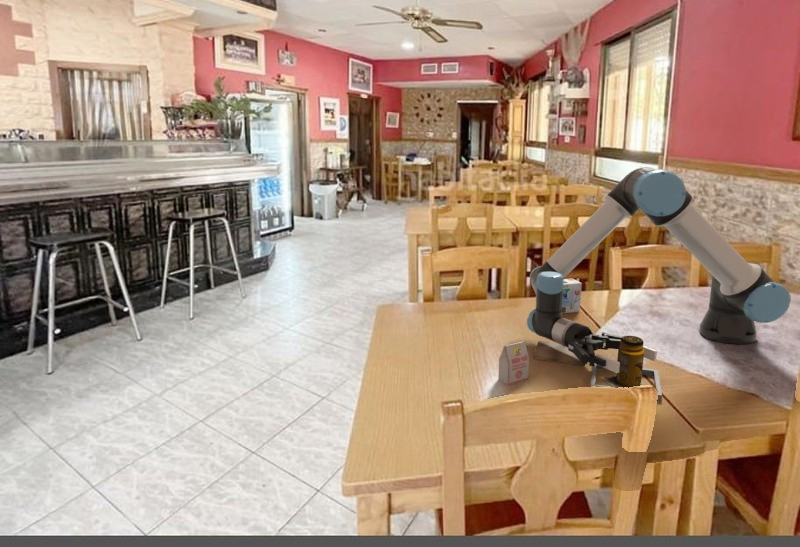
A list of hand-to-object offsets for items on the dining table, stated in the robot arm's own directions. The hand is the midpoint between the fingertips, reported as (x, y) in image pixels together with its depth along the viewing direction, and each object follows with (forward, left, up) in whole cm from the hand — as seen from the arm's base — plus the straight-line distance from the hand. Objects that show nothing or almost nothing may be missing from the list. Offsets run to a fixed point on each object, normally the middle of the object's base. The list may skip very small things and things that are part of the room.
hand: (637, 361), depth 133 cm
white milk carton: (+29, +5, -7) cm, 31 cm away
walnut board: (+19, -16, -7) cm, 26 cm away
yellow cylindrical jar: (+2, -2, -7) cm, 8 cm away
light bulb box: (+22, -57, -7) cm, 62 cm away
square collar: (+2, -2, -7) cm, 8 cm away
